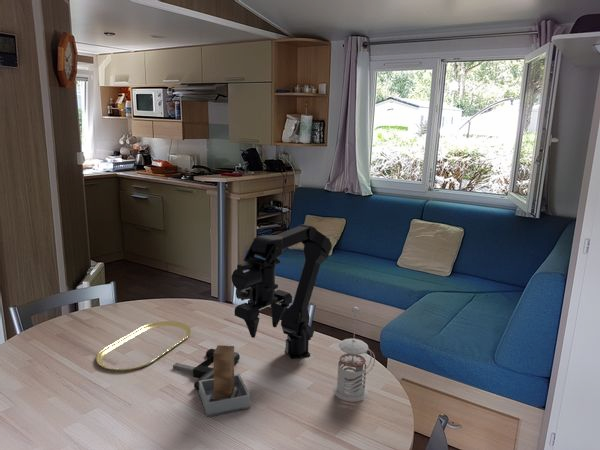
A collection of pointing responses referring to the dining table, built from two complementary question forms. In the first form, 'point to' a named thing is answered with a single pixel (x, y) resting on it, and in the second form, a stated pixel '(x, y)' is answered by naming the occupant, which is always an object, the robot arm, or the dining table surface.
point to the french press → (349, 381)
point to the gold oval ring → (134, 334)
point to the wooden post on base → (224, 374)
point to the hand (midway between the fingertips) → (263, 332)
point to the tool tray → (227, 404)
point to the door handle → (202, 368)
